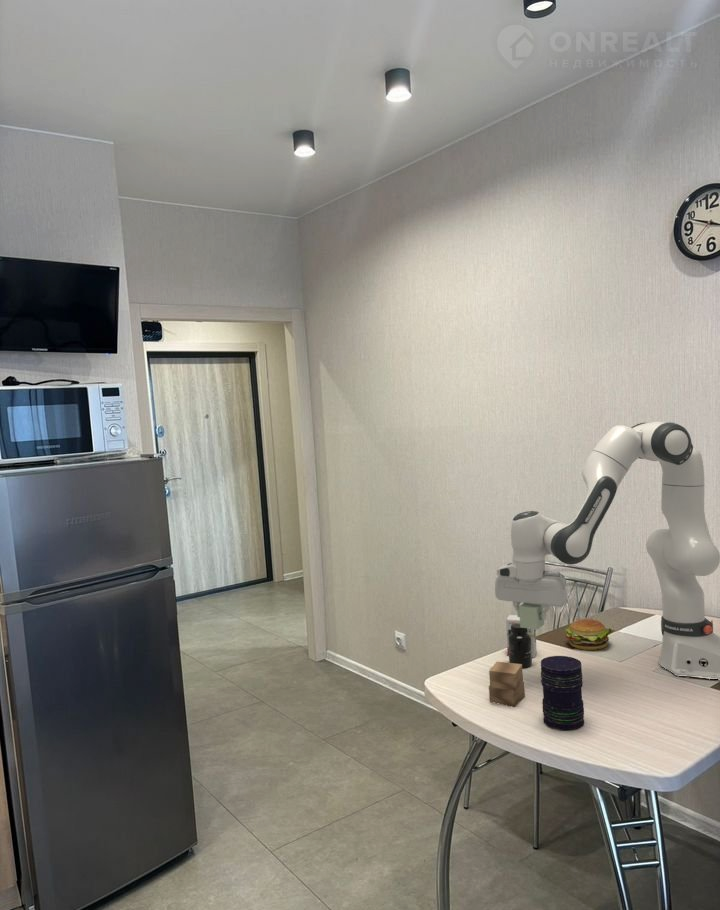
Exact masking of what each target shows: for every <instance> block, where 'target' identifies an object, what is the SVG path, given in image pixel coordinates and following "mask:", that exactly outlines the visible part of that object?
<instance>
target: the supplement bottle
mask: <svg viewBox="0 0 720 910" xmlns="http://www.w3.org/2000/svg"><path fill="white" fill-rule="evenodd" d="M511 632H512V633H511V634H510V635H509V636H508V648H509V656H508V663H515V664H522V669H525V668H529V667H531V666H532V664H533V657H532V649H531V637H530V635H529V634H528V633H527V632H528V630H527V628H521V627H520V624H519V623H518V624H512V625H511Z"/></svg>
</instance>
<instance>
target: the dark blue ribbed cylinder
mask: <svg viewBox="0 0 720 910" xmlns="http://www.w3.org/2000/svg"><path fill="white" fill-rule="evenodd" d="M540 669H541V670H540V678H541V680H540V683H541V686H542V695H543V697H542V699H541V701H542V703H541V704H542V707H541V708H542V714H543V724H544V725H545V726H546V727H548V728H550V729H552V730H556V731H560V732H561V731H562V732H572V731H577V730H580V729H581V728H583V727H584V726H585V720H584V717H585V708H584V705H585V704H584V699H583V695H582V694H583V693H582V692H583V691H582V688H583V683H584V681H583V669H582V661H581V660H579V659H577V658H575V657H572V656H566V655H551V656H548V657H544V658H542V659H541V660H540Z"/></svg>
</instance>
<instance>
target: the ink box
mask: <svg viewBox="0 0 720 910" xmlns="http://www.w3.org/2000/svg"><path fill="white" fill-rule="evenodd" d="M505 622H506V647H507V649H506V652H507V656H508V657H509V648H508V636H509V635H510V634H511V633H512V632H511V625H512V624H518V623H519V624H520V617H518V616H517V614H509V615H508V616H507V617H506V621H505ZM527 630H528V632H527V633H528V634H529V635H530V637H531V649H532V658H535V657H536V655H537V654H538V653H537V630H536V629H529V628H527Z"/></svg>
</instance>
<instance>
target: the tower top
mask: <svg viewBox="0 0 720 910" xmlns="http://www.w3.org/2000/svg"><path fill="white" fill-rule="evenodd" d="M523 673H524V672H523V668H522V664H515V663H509V662H507V661H496V662H495V663H494V664H493V665H492V667H490V669H489V671H488V675H489V686H490V687H492V688H500V689H508V690H515V691H516V690H517V689H518V687H519V686H520V684H521V683H522V681H524V674H523Z"/></svg>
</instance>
